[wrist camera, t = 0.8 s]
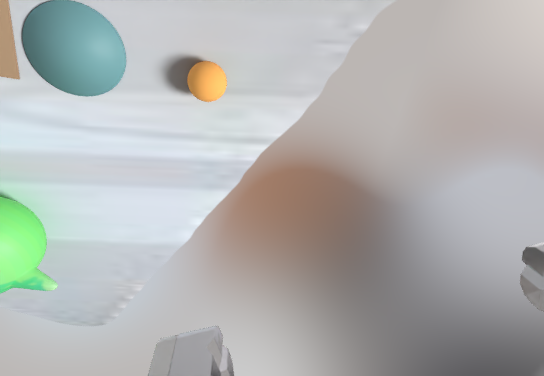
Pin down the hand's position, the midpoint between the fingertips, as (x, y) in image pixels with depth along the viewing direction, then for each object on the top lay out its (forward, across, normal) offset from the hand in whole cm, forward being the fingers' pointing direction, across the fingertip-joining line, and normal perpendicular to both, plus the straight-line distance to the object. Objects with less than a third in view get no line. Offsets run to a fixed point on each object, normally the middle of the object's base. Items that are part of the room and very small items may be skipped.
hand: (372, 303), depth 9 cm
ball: (+43, +7, -4) cm, 44 cm away
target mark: (+43, +22, -11) cm, 50 cm away
